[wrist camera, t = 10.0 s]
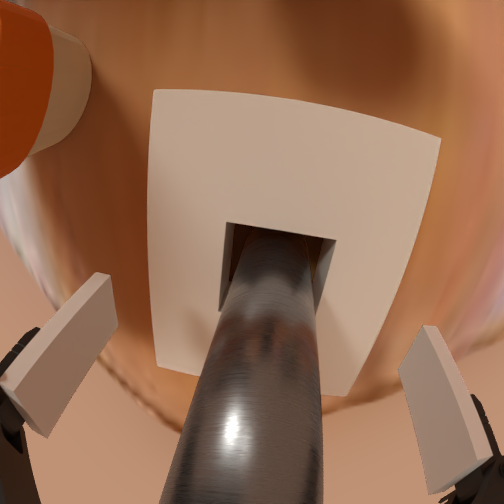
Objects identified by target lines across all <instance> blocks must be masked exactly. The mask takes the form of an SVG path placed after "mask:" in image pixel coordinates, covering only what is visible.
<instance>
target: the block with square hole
mask: <svg viewBox="0 0 504 504" xmlns="http://www.w3.org/2000/svg"><path fill="white" fill-rule="evenodd" d="M440 144H441V138H439V137H436V136H434V135H431V134H428V133H425V132H422V131H419V130H416V129H413V128H410V127H407V126H404V125H401V124H397V123H394V122H391V121H387V120H384V119H380V118H377V117H373V116H369V115H365V114H361V113H357V112H353V111H349V110H345V109H340V108H336V107H331V106H326V105H321V104H316V103H311V102H305V101H299V100H293V99H287V98H280V97H273V96H265V95H257V94H248V93H238V92H226V91H211V90H187V89H154V92H153V101H152V112H151V124H150V138H149V155H148V181H147V245H148V271H149V289H150V303H151V316H152V327H153V337H154V346H155V354H156V362H157V366H158V367H162V368H166V369H170V370H174V371H178V372H182V373H186V374H191V375H195V376H199V377H200V375H201V372H202V369H203V366H204V363H205V360H206V357H207V354H208V351H209V348H210V345H211V342H212V339H213V336H214V333H215V330H216V327H217V324H218V321H219V318H220V315H221V312H222V309H223V306H224V303H225V300H226V297H227V294H228V292H229V289H230V286H231V283H232V281H229V275H230V266H231V256H232V247H233V238H234V229H235V223H237V224H244V225H250V226H256V227H263V228H269V229H275V230H281V231H287V232H293V233H299V234H305V235H311V236H317V237H322V238H323V242H322V247H321V251H320V255H319V259H318V263H317V267H316V271H315V275H314V279H313V283H312V290H313V300H314V310H315V321H316V332H317V345H318V358H319V372H320V389H321V395H328V396H342V397H346V396H347V394H348V393H349V391H350V389H351V387H352V385H353V384H354V382H355V380H356V378H357V376H358V374H359V372H360V371H361V369H362V367H363V365H364V363H365V361H366V359H367V357H368V355H369V353H370V351H371V349H372V347H373V345H374V343H375V340H376V338H377V336H378V334H379V332H380V330H381V328H382V325H383V323H384V321H385V319H386V316H387V314H388V312H389V309H390V307H391V305H392V302H393V300H394V297H395V295H396V292H397V290H398V287H399V285H400V282H401V280H402V277H403V274H404V272H405V269H406V266H407V263H408V261H409V258H410V255H411V252H412V249H413V246H414V243H415V240H416V237H417V234H418V231H419V228H420V224H421V221H422V218H423V214H424V211H425V207H426V204H427V200H428V196H429V192H430V188H431V185H432V180H433V176H434V172H435V168H436V163H437V158H438V154H439V149H440Z"/></svg>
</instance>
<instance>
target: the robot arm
mask: <svg viewBox="0 0 504 504" xmlns="http://www.w3.org/2000/svg"><path fill="white" fill-rule="evenodd" d="M118 326H119V325H118V319H117V314H116V308H115V302H114V295H113V289H112V281H111V275H108V274H103V273H99V272H95V273H94V274H93V275H92V276H91V277H90V278H89V279H88V280H87V281H86V282H85V283H84V284H83V285H82V286H81V287H80V288H79V289H78V290H77V291H76V292H75V293H74V294H73V295H72V296H71V297H70V298H69V299H68V300H67V302H66V303H65V304H64V305H63V306H62V307H61V308H60V309H59V310H58V311H57V312H56V313H55V314H54V315H53V317H52V318H51V319H50V320H49V321H48V322H47V323H46V324H45V325H44V326H43V327H42V329H40V328H38V327H35V328H34V329H32V330H30V331H29V332H27V333H26V334H25V335H24V336H23V337H22V338H21V339H20V340H19V341H18V344H16V345H15V346H14V347H13V348H12V351H10V352H9V353H8V354H7V355H6V356H5V358H4V359H3V360H2V361H1V362H0V504H41V502H40V498H39V495H38V491H37V488H36V484H35V480H34V476H33V472H32V468H31V463H30V459H29V454H28V448H27V443H26V437H25V431H24V428H23V426H22V425H23V424H24V422H25V421H26V423H27V424H28V425H29V427H30V428H31V429H32V430H34V431H35V432H37V433H39V434H40V435H42V436H44V437H45V438H48V437H49V435H50V433H51V431H52V429H53V428H54V426H55V425H56V423H57V421H58V419H59V418H60V416H61V414H62V413H63V411H64V409H65V408H66V406H67V404H68V403H69V401H70V399H71V398H72V396H73V394H74V393H75V391H76V389H77V388H78V387H79V385H80V383H81V382H82V380H83V379H84V377H85V375H86V374H87V372H88V371H89V369H90V368H91V366H92V364H93V363H94V362H95V360H96V359H97V357H98V355H99V354H100V352H101V351H102V349H103V348H104V346H105V345H106V344H107V342H108V341H109V339H110V338H111V336H112V335H113V333H114V332H115V330H116V329H117V327H118ZM398 373H399V376H400V379H401V382H402V386H403V389H404V392H405V396H406V399H407V403H408V407H409V410H410V414H411V417H412V421H413V425H414V429H415V433H416V437H417V441H418V446H419V450H420V455H421V459H422V464H423V468H424V473H425V479H426V484H427V489H428V495H431V494H436V493H440V492H444V491H446V490H447V489H449V488H450V487H452V486H453V485H455V488H456V490H454V491H453V492H451V493H450V494H448V495H447V496H445V497H443V498H442V499H441V500H440V501H439V503H442V502H444V501H445V500H447V499H448V501H447V502H446V503H445V504H504V456H502V455H501V453H500V451H499V448H498V445H497V442H496V439H495V437H494V434H493V431H492V429H491V426H490V424H488V422H489V421H488V419H487V416H485V411H484V409H483V406H482V404H481V402H480V401H479V400H478V399H477V398H476V396H475V395H474V394H469V391H468V389H467V387H466V384H465V382H464V380H463V378H462V376H461V374H460V372H459V369H458V367H457V365H456V363H455V361H454V359H453V357H452V355H451V353H450V351H449V349H448V347H447V345H446V343H445V341H444V339H443V337H442V336H441V334H440V332H439V330H438V328H437V326H430V325H422V327H421V329H420V331H419V333H418V335H417V337H416V339H415V340H414V342H413V344H412V346H411V348H410V349H409V351H408V353H407V355H406V356H405V358H404V360H403V361H402V363H401V365H400V366H399V368H398Z"/></svg>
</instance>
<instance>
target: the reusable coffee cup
mask: <svg viewBox="0 0 504 504" xmlns="http://www.w3.org/2000/svg"><path fill="white" fill-rule="evenodd" d="M91 81H92V65H91V61H90V56H89V53H88V51H87V49H86V47H85V45H84V44H83V43H82V42H81V40H79V39H78V38H76V37H75V36H73V35H71V34H68V33H66V32H64V31H62V30H59V29H57V28H55V27H52V26H50V25H48V24H47V23H46V22H45V20H44V19H43V18H42V16H40V15H39V14H37V13H35V12H34V11H31V10H29V9H26V8H24V7H21V6H19V5H16V4H13V3H11V2H8V1H5V0H0V178H2V177H4V176H6V175H7V174H9V173H11V172H12V171H13V170H15V169H16V168H17V167H19V165H20V164H21V163H22V162H23V161H24V159H25V158H27V157H29V156H31V155H33V154H35V153H37V152H39V151H41V150H43V149H45V148H48V147H50V146H52V145H54V144H56V143H58V142H60V141H61V140H63V139H64V138H65V137H66V136H67V135H68V134H69V133H71V131H72V130H73V129H74V127H75V126H76V125H77V123H78V121H79V120H80V118H81V116H82V114H83V112H84V109H85V107H86V104H87V102H88V97H89V93H90V90H91Z"/></svg>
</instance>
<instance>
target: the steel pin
mask: <svg viewBox="0 0 504 504" xmlns="http://www.w3.org/2000/svg"><path fill="white" fill-rule="evenodd" d="M322 436H323V434H322V408H321V389H320V372H319V358H318V345H317V332H316V321H315V310H314V300H313V290H312V281H311V272H310V263H309V255H308V247H307V243H306V240H305V238H304V236H303V235H302V234H299V233H293V232H287V231H281V230H275V229H269V228H263V227H256V228H255V229H253V230H252V231H251V232H250V234H249V235H248V237H247V239H246V242H245V245H244V248H243V250H242V253H241V256H240V259H239V262H238V265H237V268H236V271H235V274H234V277H233V280H232V283H231V286H230V289H229V292H228V294H227V297H226V300H225V303H224V306H223V309H222V312H221V315H220V318H219V321H218V324H217V327H216V330H215V333H214V336H213V339H212V342H211V345H210V348H209V351H208V354H207V357H206V360H205V363H204V366H203V369H202V372H201V375H200V378H199V381H198V384H197V387H196V390H195V393H194V396H193V399H192V402H191V405H190V408H189V411H188V414H187V418H186V421H185V424H184V427H183V430H182V433H181V436H180V439H179V442H178V445H177V449H176V452H175V454H174V458H173V461H172V464H171V467H170V470H169V473H168V476H167V480H166V483H165V486H164V489H163V492H162V495H161V499H160V501H159V504H323V437H322Z"/></svg>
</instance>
